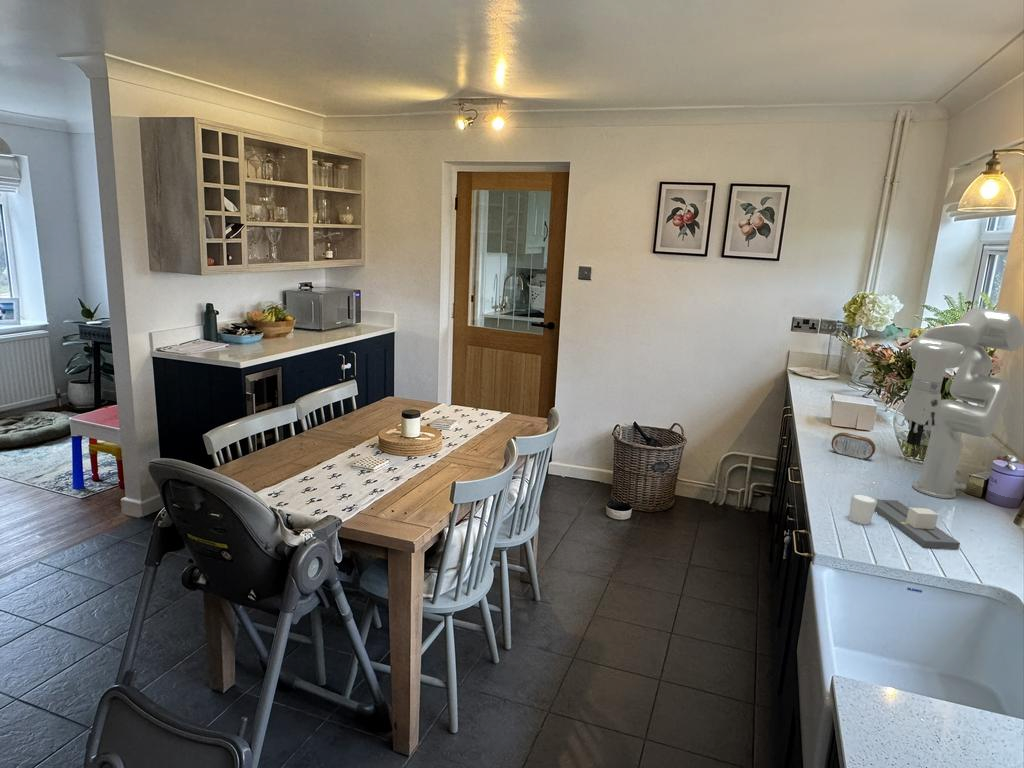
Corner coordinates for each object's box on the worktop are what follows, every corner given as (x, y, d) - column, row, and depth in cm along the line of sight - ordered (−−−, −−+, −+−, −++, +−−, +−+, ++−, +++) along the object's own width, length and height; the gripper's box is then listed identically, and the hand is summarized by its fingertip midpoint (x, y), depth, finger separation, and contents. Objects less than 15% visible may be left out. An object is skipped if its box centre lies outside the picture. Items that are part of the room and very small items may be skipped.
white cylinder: (870, 518, 202) (875, 496, 200) (874, 527, 196) (879, 504, 194) (845, 513, 204) (850, 491, 202) (848, 522, 198) (853, 499, 196)
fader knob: (905, 521, 196) (909, 507, 195) (925, 522, 196) (929, 508, 195) (914, 528, 192) (918, 513, 191) (934, 529, 193) (938, 514, 192)
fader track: (865, 504, 212) (866, 498, 212) (895, 506, 213) (897, 500, 212) (923, 547, 185) (925, 540, 185) (958, 549, 186) (960, 542, 185)
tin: (872, 460, 257) (877, 439, 255) (872, 462, 254) (876, 441, 252) (830, 450, 264) (834, 429, 262) (828, 452, 262) (833, 431, 260)
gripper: (956, 393, 194) (941, 453, 199) (921, 379, 208) (909, 435, 213) (931, 392, 193) (917, 452, 198) (898, 378, 207) (886, 435, 212)
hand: (913, 443), depth 205 cm, fingers closed
